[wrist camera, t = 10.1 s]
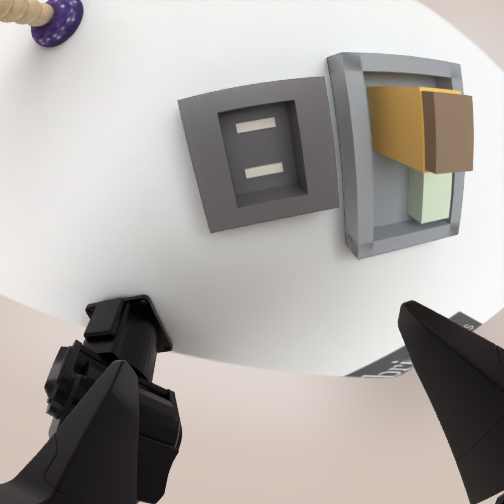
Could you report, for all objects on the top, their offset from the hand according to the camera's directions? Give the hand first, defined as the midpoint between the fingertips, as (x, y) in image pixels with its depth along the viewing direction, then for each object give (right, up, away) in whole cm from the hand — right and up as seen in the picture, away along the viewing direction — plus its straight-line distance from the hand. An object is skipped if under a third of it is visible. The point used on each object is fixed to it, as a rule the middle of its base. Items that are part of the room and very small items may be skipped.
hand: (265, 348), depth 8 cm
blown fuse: (+9, +12, +9) cm, 18 cm away
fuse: (+13, +8, +11) cm, 19 cm away
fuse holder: (0, +10, +10) cm, 14 cm away
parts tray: (+11, +11, +10) cm, 18 cm away
